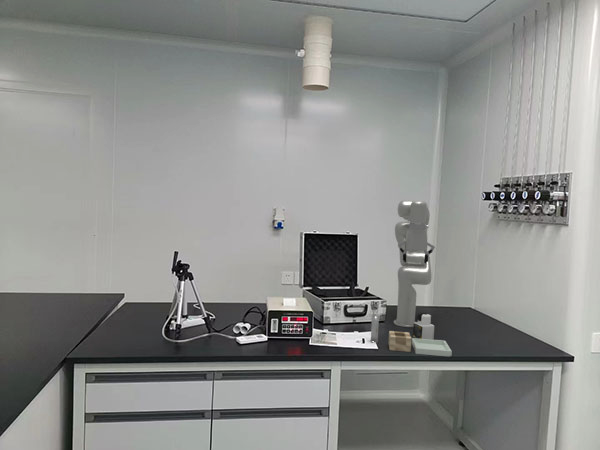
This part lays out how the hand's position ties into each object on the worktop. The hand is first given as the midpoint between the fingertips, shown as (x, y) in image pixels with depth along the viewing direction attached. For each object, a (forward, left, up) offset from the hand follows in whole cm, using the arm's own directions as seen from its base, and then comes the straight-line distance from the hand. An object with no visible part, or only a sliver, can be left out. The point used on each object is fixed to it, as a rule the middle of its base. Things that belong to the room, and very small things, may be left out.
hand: (415, 262), depth 218 cm
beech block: (+17, -7, -37) cm, 41 cm away
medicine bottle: (-1, +6, -37) cm, 37 cm away
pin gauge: (+11, -18, -37) cm, 42 cm away
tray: (+16, +7, -37) cm, 41 cm away
